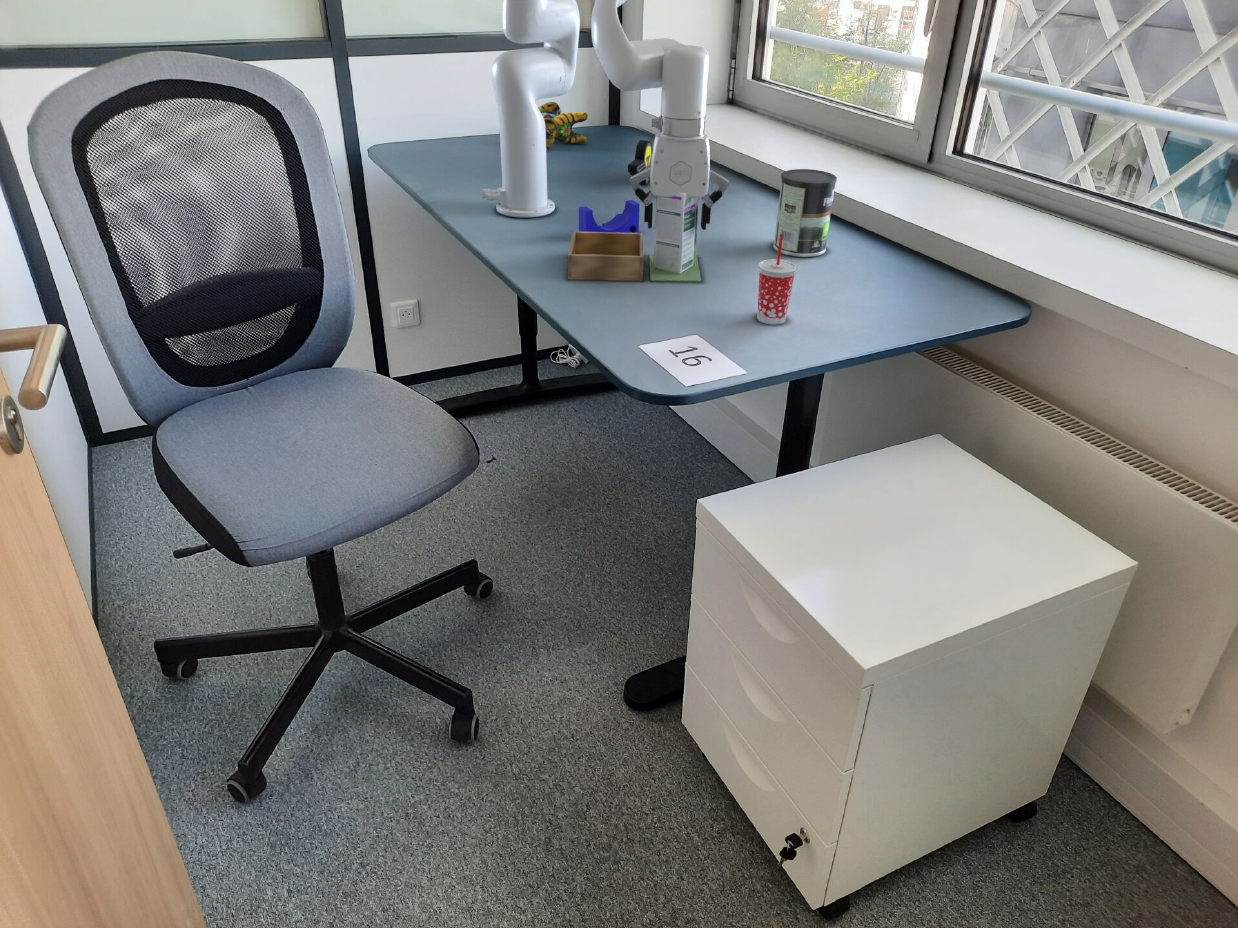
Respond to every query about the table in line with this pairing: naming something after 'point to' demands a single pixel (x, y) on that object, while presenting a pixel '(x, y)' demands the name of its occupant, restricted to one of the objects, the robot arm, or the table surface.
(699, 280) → the mat
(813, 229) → the coffee can
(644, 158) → the decorative sign
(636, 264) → the tray
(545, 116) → the dog figurine
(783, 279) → the beverage cup
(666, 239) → the syrup box
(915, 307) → the table surface
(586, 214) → the cable clip
